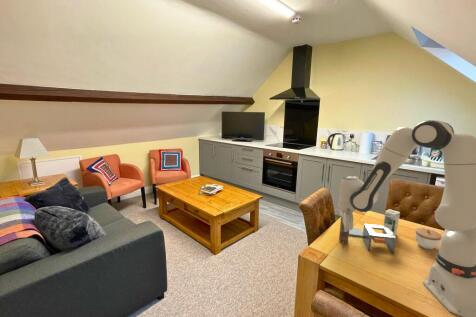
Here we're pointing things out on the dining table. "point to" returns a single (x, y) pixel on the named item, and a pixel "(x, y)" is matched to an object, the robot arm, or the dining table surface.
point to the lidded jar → (427, 238)
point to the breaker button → (378, 240)
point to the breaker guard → (379, 236)
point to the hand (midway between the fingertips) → (344, 228)
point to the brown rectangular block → (343, 233)
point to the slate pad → (356, 232)
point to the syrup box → (391, 220)
